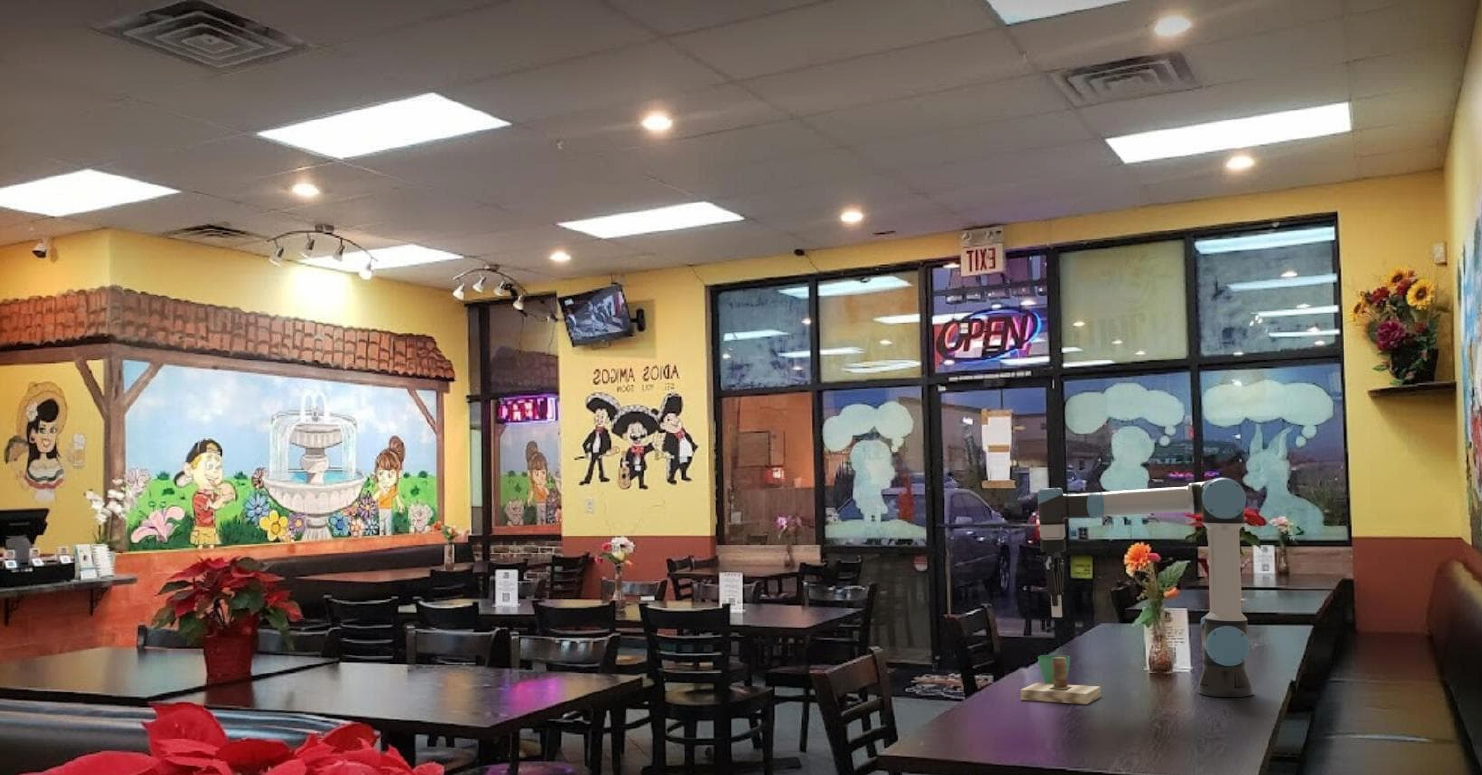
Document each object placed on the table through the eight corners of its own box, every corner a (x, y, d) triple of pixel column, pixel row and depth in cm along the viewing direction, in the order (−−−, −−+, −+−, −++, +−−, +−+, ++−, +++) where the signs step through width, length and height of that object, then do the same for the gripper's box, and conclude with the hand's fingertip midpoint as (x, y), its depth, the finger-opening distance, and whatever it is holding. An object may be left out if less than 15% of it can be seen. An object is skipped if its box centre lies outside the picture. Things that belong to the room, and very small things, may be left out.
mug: (1066, 692, 372) (1065, 659, 373) (1035, 690, 377) (1034, 658, 378) (1079, 684, 385) (1077, 653, 386) (1049, 683, 390) (1047, 652, 391)
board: (1101, 696, 362) (1100, 686, 363) (1087, 704, 351) (1086, 693, 351) (1036, 692, 373) (1036, 682, 374) (1021, 699, 362) (1020, 689, 362)
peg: (1070, 697, 363) (1067, 657, 364) (1065, 699, 359) (1063, 658, 360) (1056, 696, 365) (1054, 656, 366) (1052, 698, 361) (1049, 658, 363)
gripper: (1047, 537, 374) (1052, 614, 372) (1033, 539, 363) (1037, 618, 361) (1071, 537, 370) (1075, 614, 368) (1057, 539, 359) (1062, 619, 357)
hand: (1057, 616), depth 364 cm, fingers closed
